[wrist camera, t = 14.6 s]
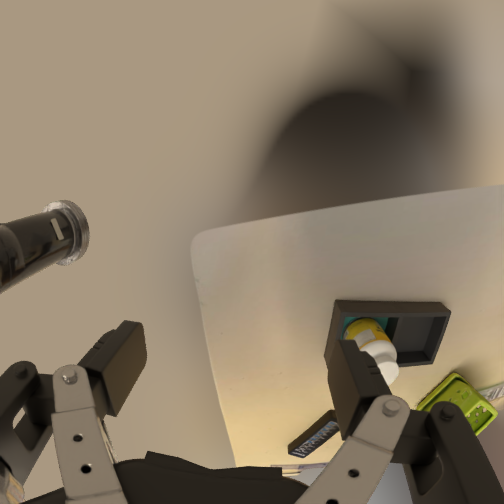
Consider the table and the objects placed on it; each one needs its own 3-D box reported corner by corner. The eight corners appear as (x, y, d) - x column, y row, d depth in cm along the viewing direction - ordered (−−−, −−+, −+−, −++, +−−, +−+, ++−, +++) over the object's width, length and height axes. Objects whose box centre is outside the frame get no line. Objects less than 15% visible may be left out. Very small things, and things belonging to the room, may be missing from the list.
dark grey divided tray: (323, 355, 46) (327, 370, 42) (334, 299, 43) (341, 311, 39) (423, 352, 45) (432, 364, 41) (440, 301, 42) (451, 311, 38)
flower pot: (406, 407, 49) (426, 448, 37) (453, 361, 46) (482, 398, 33) (434, 421, 51) (453, 457, 39) (475, 381, 47) (500, 414, 35)
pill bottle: (378, 343, 44) (403, 386, 33) (342, 352, 44) (359, 399, 33) (378, 310, 42) (407, 350, 31) (339, 319, 43) (359, 363, 32)
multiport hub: (346, 415, 50) (348, 423, 47) (302, 451, 53) (303, 458, 51) (330, 409, 49) (331, 417, 47) (286, 446, 53) (287, 454, 51)
